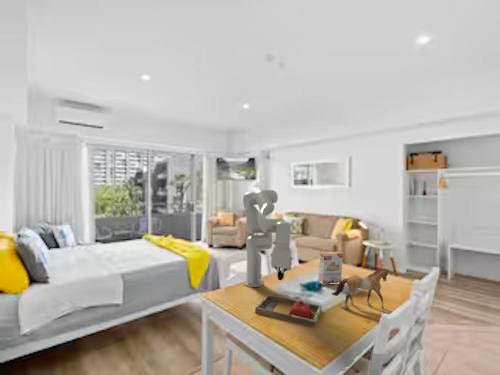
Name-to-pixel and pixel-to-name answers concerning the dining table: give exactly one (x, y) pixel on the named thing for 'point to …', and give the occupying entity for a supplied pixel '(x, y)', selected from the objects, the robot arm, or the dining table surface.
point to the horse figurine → (363, 285)
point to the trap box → (274, 301)
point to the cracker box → (330, 267)
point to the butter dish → (301, 310)
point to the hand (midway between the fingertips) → (280, 279)
